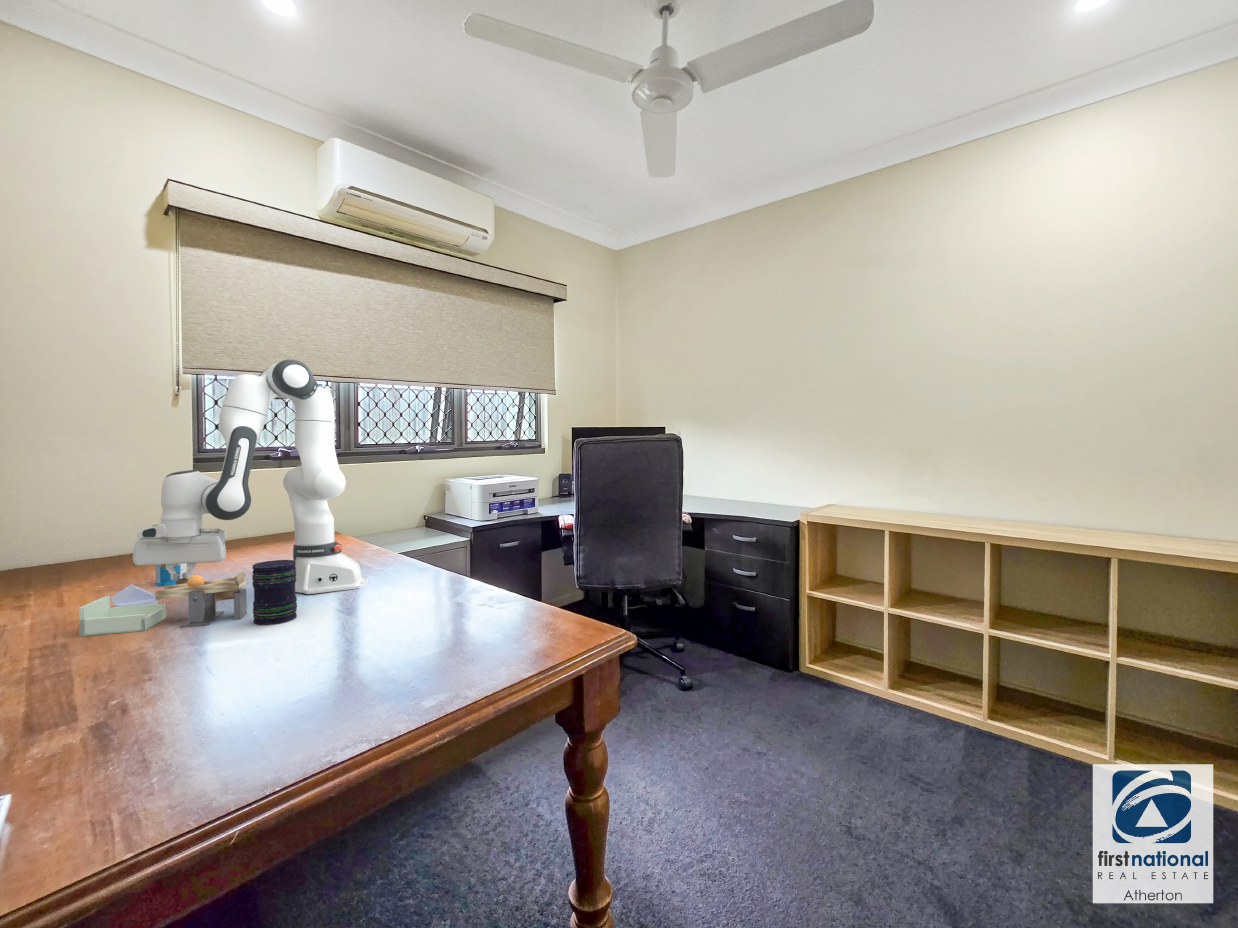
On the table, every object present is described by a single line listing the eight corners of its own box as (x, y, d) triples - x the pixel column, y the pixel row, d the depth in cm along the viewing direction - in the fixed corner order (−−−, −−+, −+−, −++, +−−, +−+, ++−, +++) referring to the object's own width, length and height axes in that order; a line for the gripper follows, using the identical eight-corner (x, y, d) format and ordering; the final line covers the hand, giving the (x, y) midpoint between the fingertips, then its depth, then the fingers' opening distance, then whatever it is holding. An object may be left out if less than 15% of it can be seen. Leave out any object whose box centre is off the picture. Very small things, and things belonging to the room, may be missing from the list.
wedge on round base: (109, 610, 151) (117, 620, 142) (109, 587, 151) (116, 594, 142) (151, 603, 158) (161, 612, 149) (151, 581, 157) (161, 588, 149)
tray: (165, 617, 144) (165, 591, 144) (145, 630, 134) (144, 602, 134) (105, 623, 140) (105, 596, 140) (79, 636, 130) (78, 607, 129)
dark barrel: (275, 626, 137) (274, 568, 136) (243, 624, 139) (242, 566, 138) (306, 614, 146) (305, 560, 146) (275, 612, 148) (274, 559, 148)
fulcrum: (250, 610, 150) (249, 580, 150) (236, 622, 140) (236, 589, 140) (198, 615, 146) (197, 583, 146) (180, 627, 136) (179, 593, 136)
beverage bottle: (148, 588, 176) (147, 527, 175) (176, 582, 184) (175, 524, 183) (167, 590, 173) (165, 528, 173) (194, 584, 181) (193, 524, 181)
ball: (187, 583, 142) (202, 589, 144) (181, 587, 139) (196, 592, 140) (195, 571, 143) (209, 576, 144) (189, 574, 140) (204, 580, 141)
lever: (257, 585, 156) (255, 565, 156) (239, 598, 142) (237, 576, 142) (182, 594, 151) (180, 574, 150) (156, 609, 136) (154, 586, 136)
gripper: (230, 527, 154) (229, 575, 154) (142, 528, 147) (141, 579, 147) (222, 529, 148) (221, 579, 148) (129, 531, 142) (129, 584, 142)
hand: (180, 579), depth 148 cm, fingers closed
